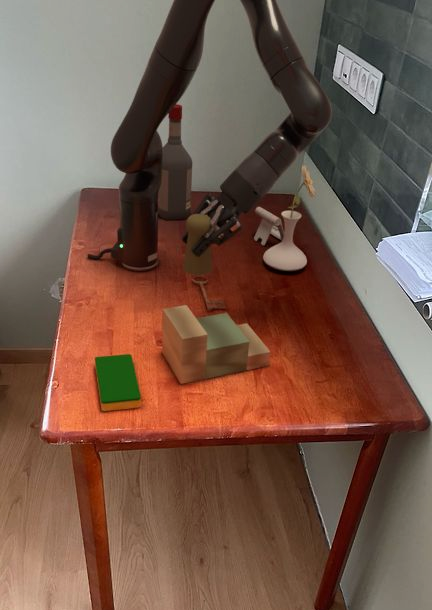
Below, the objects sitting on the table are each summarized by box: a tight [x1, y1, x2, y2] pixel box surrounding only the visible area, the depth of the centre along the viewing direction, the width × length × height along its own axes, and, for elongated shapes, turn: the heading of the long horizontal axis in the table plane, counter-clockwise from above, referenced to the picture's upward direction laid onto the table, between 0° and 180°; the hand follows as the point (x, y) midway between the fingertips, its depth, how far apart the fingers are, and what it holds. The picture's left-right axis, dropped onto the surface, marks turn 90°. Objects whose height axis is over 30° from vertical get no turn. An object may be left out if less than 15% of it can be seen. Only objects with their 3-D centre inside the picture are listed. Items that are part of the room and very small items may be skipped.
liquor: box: [158, 103, 193, 221], centre depth 172 cm, size 9×9×30 cm
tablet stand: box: [253, 206, 285, 246], centre depth 169 cm, size 9×8×8 cm
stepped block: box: [161, 304, 271, 385], centre depth 122 cm, size 19×11×10 cm, turn 113°
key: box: [191, 276, 226, 312], centre depth 146 cm, size 6×1×15 cm
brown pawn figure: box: [182, 213, 213, 276], centre depth 122 cm, size 6×6×11 cm
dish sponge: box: [94, 353, 142, 412], centre depth 116 cm, size 7×14×2 cm, turn 13°
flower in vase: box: [262, 165, 316, 272], centre depth 153 cm, size 13×11×25 cm
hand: (189, 247), depth 122 cm, fingers closed on brown pawn figure, 4 cm apart
